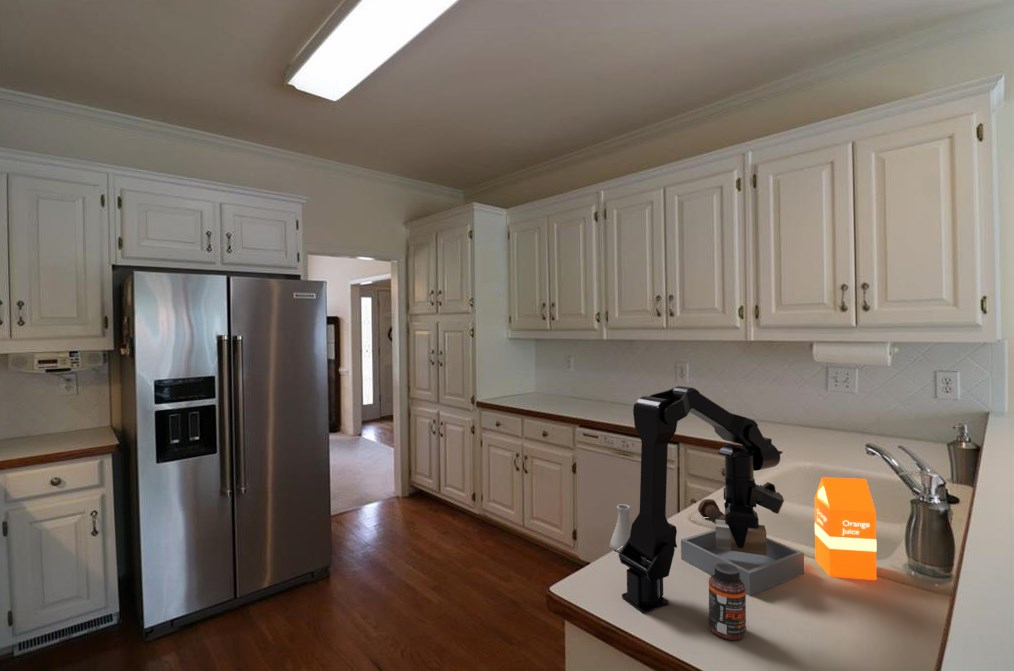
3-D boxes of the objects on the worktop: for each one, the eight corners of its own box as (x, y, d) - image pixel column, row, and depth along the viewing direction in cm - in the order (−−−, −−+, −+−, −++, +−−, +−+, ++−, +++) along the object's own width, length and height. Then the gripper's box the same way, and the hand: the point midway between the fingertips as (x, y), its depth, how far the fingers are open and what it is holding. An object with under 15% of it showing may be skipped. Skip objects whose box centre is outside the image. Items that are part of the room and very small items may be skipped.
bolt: (734, 547, 122) (704, 521, 137) (750, 536, 122) (719, 511, 137) (723, 528, 121) (694, 504, 136) (739, 517, 121) (709, 494, 136)
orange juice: (814, 559, 111) (813, 472, 110) (858, 562, 109) (857, 473, 108) (830, 577, 103) (829, 483, 103) (877, 580, 101) (876, 485, 101)
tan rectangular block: (766, 555, 104) (766, 532, 104) (715, 548, 108) (715, 526, 108) (764, 547, 108) (764, 525, 108) (715, 541, 112) (715, 519, 112)
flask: (616, 538, 124) (615, 499, 124) (643, 545, 120) (643, 504, 120) (604, 549, 118) (603, 508, 118) (633, 556, 114) (632, 514, 114)
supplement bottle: (728, 646, 82) (727, 579, 82) (701, 626, 87) (700, 563, 87) (754, 636, 84) (753, 571, 84) (726, 617, 90) (725, 556, 90)
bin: (749, 595, 97) (749, 573, 96) (681, 558, 112) (680, 539, 112) (804, 573, 105) (803, 552, 104) (732, 541, 120) (732, 523, 120)
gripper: (786, 491, 96) (787, 569, 97) (775, 465, 113) (776, 532, 114) (724, 485, 101) (725, 560, 101) (723, 461, 118) (723, 525, 118)
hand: (739, 543), depth 108 cm, fingers closed on tan rectangular block, 4 cm apart
